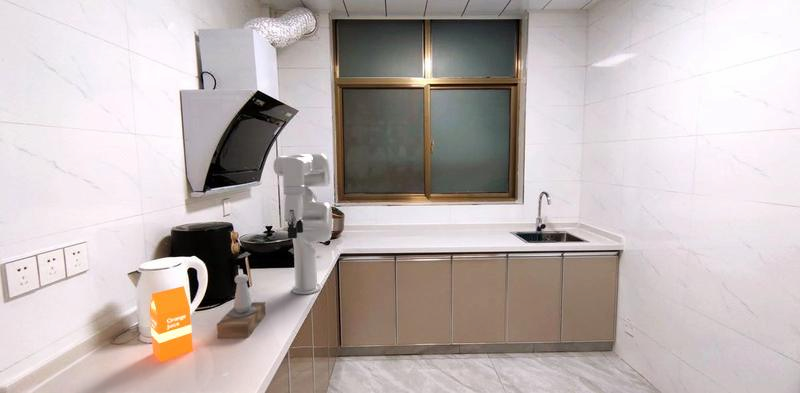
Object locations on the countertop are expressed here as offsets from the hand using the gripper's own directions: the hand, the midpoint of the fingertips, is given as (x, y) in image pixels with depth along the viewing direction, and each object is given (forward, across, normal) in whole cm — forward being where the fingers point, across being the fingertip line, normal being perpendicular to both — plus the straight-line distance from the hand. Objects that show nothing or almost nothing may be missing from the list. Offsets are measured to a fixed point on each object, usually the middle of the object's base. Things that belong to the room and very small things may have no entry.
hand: (295, 235), depth 140 cm
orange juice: (+31, +28, -32) cm, 52 cm away
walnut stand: (+30, +11, -17) cm, 36 cm away
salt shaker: (+25, +11, -17) cm, 32 cm away
